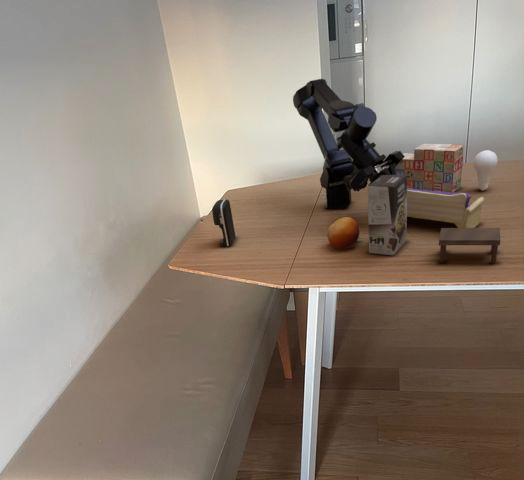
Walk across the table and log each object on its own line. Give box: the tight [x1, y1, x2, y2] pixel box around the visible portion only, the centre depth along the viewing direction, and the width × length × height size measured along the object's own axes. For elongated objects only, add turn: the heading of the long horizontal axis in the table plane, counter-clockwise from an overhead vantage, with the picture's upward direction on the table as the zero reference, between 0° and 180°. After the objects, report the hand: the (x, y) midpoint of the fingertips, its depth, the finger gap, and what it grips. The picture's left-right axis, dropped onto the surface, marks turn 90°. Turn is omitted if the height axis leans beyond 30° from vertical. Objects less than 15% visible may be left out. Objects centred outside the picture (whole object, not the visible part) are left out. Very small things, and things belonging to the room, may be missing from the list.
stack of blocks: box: [395, 143, 465, 193], centre depth 154 cm, size 21×6×12 cm, turn 49°
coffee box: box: [367, 175, 408, 256], centre depth 120 cm, size 9×6×16 cm
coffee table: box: [438, 227, 501, 265], centre depth 112 cm, size 12×7×6 cm, turn 71°
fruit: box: [326, 216, 360, 250], centre depth 127 cm, size 8×8×8 cm
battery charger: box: [211, 198, 237, 247], centre depth 139 cm, size 7×4×11 cm, turn 171°
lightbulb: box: [473, 149, 499, 191], centre depth 145 cm, size 6×6×11 cm
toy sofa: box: [407, 188, 485, 228], centre depth 129 cm, size 21×9×10 cm, turn 48°
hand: (398, 194), depth 133 cm, fingers closed, pressing on toy sofa
